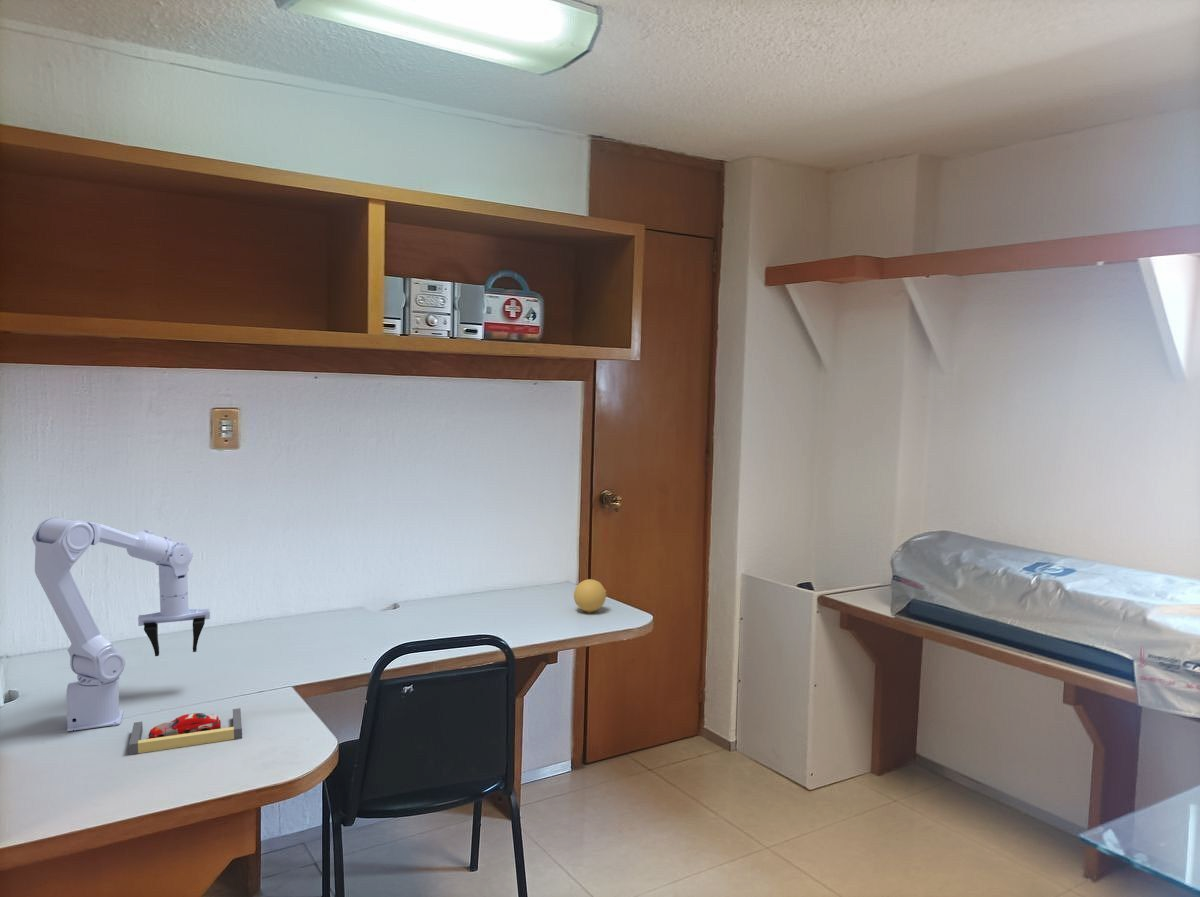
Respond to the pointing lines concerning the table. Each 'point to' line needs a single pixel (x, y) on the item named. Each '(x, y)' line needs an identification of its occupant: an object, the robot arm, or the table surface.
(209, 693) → the table surface
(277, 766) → the table surface
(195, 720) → the race car
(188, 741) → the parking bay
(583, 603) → the stress ball
